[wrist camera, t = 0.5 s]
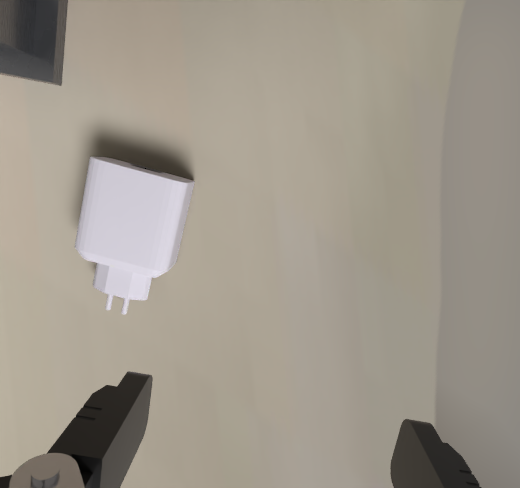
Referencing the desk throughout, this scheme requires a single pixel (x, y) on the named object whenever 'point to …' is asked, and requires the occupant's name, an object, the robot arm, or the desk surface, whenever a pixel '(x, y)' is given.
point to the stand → (33, 39)
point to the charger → (130, 226)
